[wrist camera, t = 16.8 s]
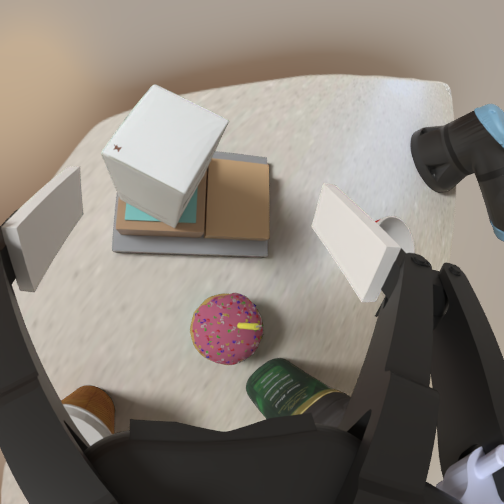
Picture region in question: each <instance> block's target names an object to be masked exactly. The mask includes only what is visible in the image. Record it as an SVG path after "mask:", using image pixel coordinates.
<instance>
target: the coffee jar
mask: <svg viewBox="0 0 504 504" xmlns="http://www.w3.org/2000/svg"><path fill="white" fill-rule="evenodd" d="M246 391H247V394H248V396H249V397H250V399H251V400H252V401H253V403H254V404H255V405H256V407H257V408H258V409H259V410H260V412H261V413H262V414H263V415H264V416H265V417H266V419H269V418H274V417H283V416H290V415H298V414H304V413H312V416H313V419H314V422H315V423H318V424H323V425H328V426H332V427H335V428H337V427H338V426H339V424H340V422H341V420H342V418H343V416H344V413H345V411H346V409H347V406H348V404H349V401H350V399H351V397H350V396H348V395H347V394H345V393H343V392H341V391H338V390H335V389H332V388H331V387H329V386H327V385H325V384H324V383H322V382H320V381H318V380H317V379H315V378H314V377H312V376H310V375H308V374H307V373H305V372H304V371H302V370H301V369H299V368H298V367H296V366H295V365H293V364H291V363H290V362H288V361H287V360H285V359H281V358H276V359H272V360H270V361H268V362H266V363H265V364H263V365H262V366H261V367H259V368H258V369H257V370H256V371H255V372H254V373H253V374H252V375H251V376H250V378H249V379H248V381H247V385H246Z"/></svg>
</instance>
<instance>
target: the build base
mask: <svg viewBox="0 0 504 504" xmlns="http://www.w3.org/2000/svg"><path fill="white" fill-rule="evenodd" d="M268 239H270V232H269V165H267V158H265V157H258V156H251V155H243V154H235V153H226V152H216V151H215V153H214V155H213V157H212V159H211V161H210V164H209V166H208V168H207V170H206V172H205V174H204V176H203V178H202V179H201V181H200V183H199V185H198V187H197V188H196V190H195V192H194V194H193V196H192V197H191V199H190V201H189V203H188V205H187V206H186V208H185V210H184V212H183V214H182V216H181V217H180V219H179V221H178V224H177V226H176V227H175V228H173V227H171V226H169V225H167V224H165V223H163V222H161V221H160V220H158V219H156V218H154V217H152V216H150V215H148V214H147V213H145V212H143V211H141V210H139V209H137V208H135V207H133V206H131V205H129V204H128V203H126V202H124V201H122V200H120V197H119V195H118V193H117V197H116V206H115V216H114V228H113V242H112V251H113V252H130V253H157V254H185V255H214V256H245V257H266V256H268Z"/></svg>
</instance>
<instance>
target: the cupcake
mask: <svg viewBox="0 0 504 504" xmlns="http://www.w3.org/2000/svg"><path fill="white" fill-rule="evenodd" d="M190 333H191V337H192V341H193V344H194V346H195V348H196V349H197V350H198V352H199V353H200V354H201V355H202V356H204V357H205V358H207V359H209V360H211V361H213V362H216V363H220V364H224V365H234V364H237V363H240V362H241V361H245V359H246V358H248V357H249V356H251V355H253V354H254V352H255V350H256V349H257V348H258V345H259V343H260V340H261V338H262V336H263V323H262V319H261V314H260V313H259V312H258V310H257V309H256V305H255V304H253V303H252V302H251V301H250V300H249V299H248V298H247V297H246V296H243V295H241V294H238V293H232V294H219V295H215V296H211V297H209V298H208V299H206V300H205V301H204V302H203V303H202V304H201V305H200V307H199V308H198V309H197V310H196V311H195V312H194V315H193V318H192V322H191V326H190Z"/></svg>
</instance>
